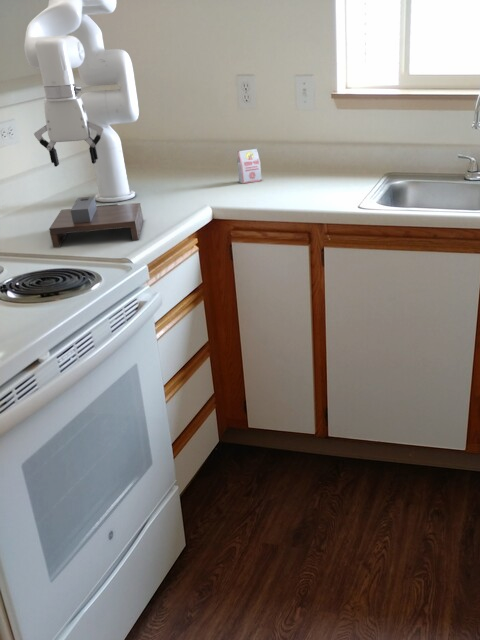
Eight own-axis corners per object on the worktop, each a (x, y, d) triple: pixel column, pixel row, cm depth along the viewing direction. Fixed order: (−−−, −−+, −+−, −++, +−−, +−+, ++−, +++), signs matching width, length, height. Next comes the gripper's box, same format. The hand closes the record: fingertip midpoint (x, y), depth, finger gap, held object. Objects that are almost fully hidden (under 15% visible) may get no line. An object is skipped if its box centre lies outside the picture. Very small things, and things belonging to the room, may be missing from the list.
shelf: (65, 227, 215) (61, 209, 213) (143, 220, 217) (140, 202, 215) (53, 247, 198) (48, 228, 196) (138, 240, 200) (134, 221, 198)
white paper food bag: (239, 181, 255) (235, 150, 250) (257, 178, 257) (254, 147, 252) (242, 183, 252) (239, 152, 247) (261, 180, 254) (258, 149, 249)
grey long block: (80, 210, 211) (77, 197, 209) (97, 209, 211) (94, 195, 209) (73, 223, 199) (70, 209, 197) (90, 222, 199) (87, 208, 197)
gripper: (97, 89, 194) (110, 159, 203) (28, 94, 193) (44, 164, 201) (94, 92, 188) (107, 164, 196) (22, 97, 186) (39, 169, 195)
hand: (75, 164), depth 199 cm, fingers open, 9 cm apart
